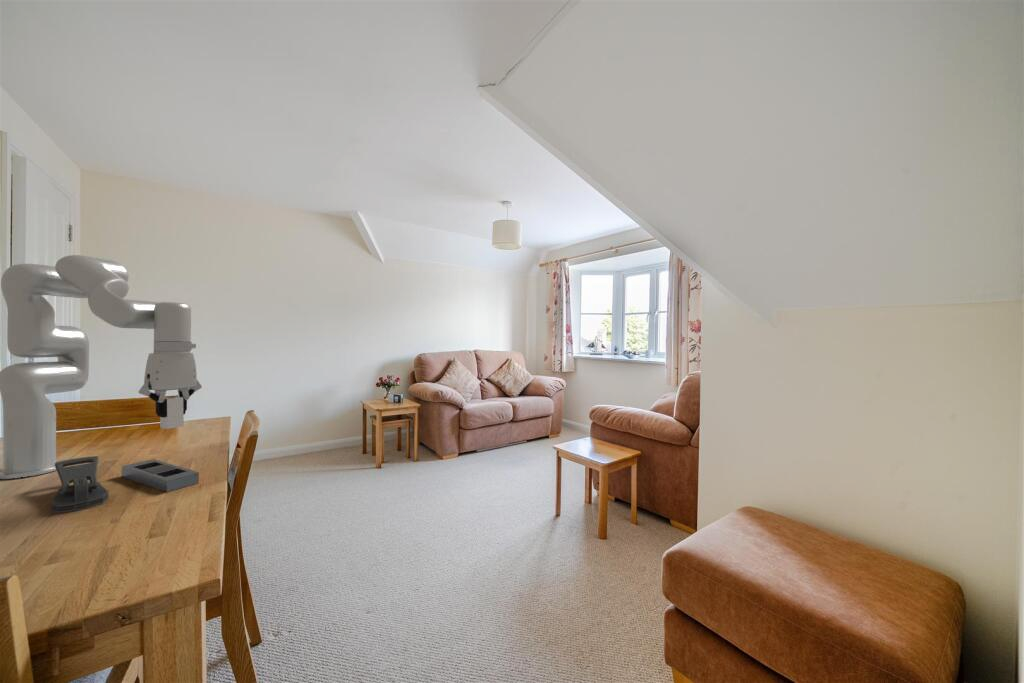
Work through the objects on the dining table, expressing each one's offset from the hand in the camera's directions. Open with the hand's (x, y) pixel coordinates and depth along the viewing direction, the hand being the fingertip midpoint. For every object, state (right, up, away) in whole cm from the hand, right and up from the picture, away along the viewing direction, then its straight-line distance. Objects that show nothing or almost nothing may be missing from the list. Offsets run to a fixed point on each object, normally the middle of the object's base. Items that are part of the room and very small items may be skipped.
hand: (171, 414), depth 104 cm
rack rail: (-6, -19, +3) cm, 20 cm away
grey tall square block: (0, -3, 0) cm, 3 cm away
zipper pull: (-16, -19, -8) cm, 26 cm away
